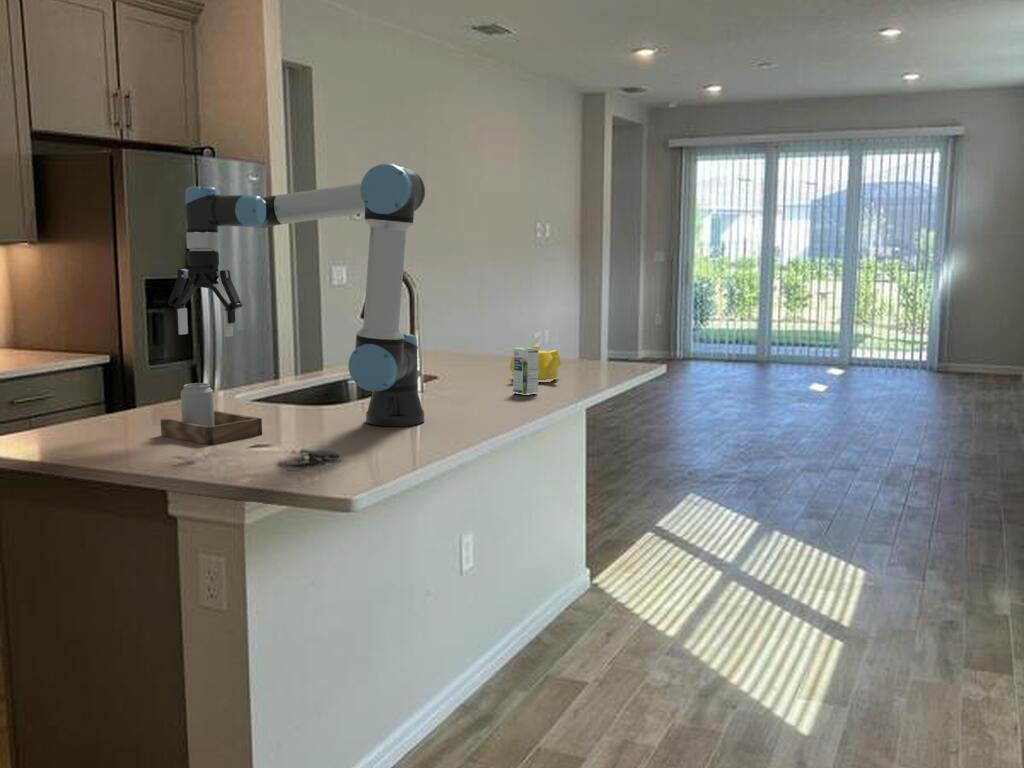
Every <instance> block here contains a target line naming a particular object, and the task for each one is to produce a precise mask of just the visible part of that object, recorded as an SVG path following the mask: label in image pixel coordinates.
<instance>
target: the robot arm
mask: <svg viewBox="0 0 1024 768" xmlns="http://www.w3.org/2000/svg"><path fill="white" fill-rule="evenodd" d="M184 194H185V196H184V198H185V200H184V201H185V202H184V207H185V223H186V235H185V236H186V249H189V250H188V251H187V254H186V258H187V260H186V261H187V265H188V269H187V268H180V269H178V270H177V278H176V281H175V283H174V287H173V288H172V290H171V291H172V292H171V293H170V296H169V299H168V302H167V304H168V306H171V307H174V309H175V320H176V322H177V326H178V327H177V328H178V329H177V330H178V335H181V336H182V335H187V334H189V326H188V323H189V322H188V307H186V304H187V303H188V301H189V300H190V299H191V297H192V296H193V294H194V293H195V291H196V290H197V289H198V288H199V289H200V288H204V289H210V290H212V292H213V293H214V294H215V295H216V297H217V298H218V300H219V301H220V302H221V303H222V305H223V307H224V308H225V309H224V310H223V312H222V313H223V335H224V338H228V337H234V324H235V323H236V310H237V309H239V308H242V306H243V303H242V301H241V299H240V297H239V294H238V292H237V290H236V287H235V285H234V284H233V281H232V279H231V271H230V269H221V270H219V265H220V252H219V251H218V250H217V249H219V227H244V228H245V227H246V228H249V227H250V228H253V227H254V228H262V229H267V228H273V227H275V226H280V225H287V224H294V223H302V222H309V221H316V220H323V219H325V220H326V219H332V218H339V217H340V218H341V217H347V216H354V215H355V216H356V215H362V214H364V221H365V222H366V224H367V225H368V226H369V240H368V241H369V242H368V252H367V253H368V255H367V256H368V257H367V271H366V284H365V294H364V295H365V299H364V311H363V312H364V313H363V324H362V325H363V326H362V327H361V328H360V329H359V330H358V331H357V332H356V335H355V349H353V351H352V353H351V354H350V356H349V359H348V373H349V375H350V377H351V379H352V381H353V382H354V383H355V384H356V385H357V386H358V387H359V388H361V389H362V390H365V391H368V392H372V393H371V396H370V401H369V404H368V409H367V411H366V412H365V421H366V422H367V423H366V424H368V423H369V425H371V424H372V426H376V425H377V427H409V426H408V425H410V426H415V424H416V425H420V424H423V423H424V422H425V412H424V410H423V408H422V404H421V399H420V397H419V392H418V350H419V348H418V347H419V346H418V339H417V336H415V335H414V334H411V333H408V334H407V333H402V332H401V331H400V318H401V303H402V293H403V292H402V290H403V281H404V280H403V278H404V264H405V253H406V251H405V249H406V240H407V239H406V236H407V231H408V229H410V228H411V227H412V226H413V225H414V218H415V212H416V211H418V209H419V208H420V207H421V206H422V204H423V203H424V200H425V197H426V196H425V195H426V187H425V183H424V181H423V178H422V177H421V176H420V175H419V174H418V173H417V171H415V170H413V169H411V168H408V167H406V166H405V167H404V166H401V165H399V164H397V163H392V162H391V163H380V164H377V165H374V166H373V167H371V168H370V169H369V170H367V172H366V173H365V174H364V176H363V178H362V179H361V182H360V183H353V184H348V185H338V186H334V187H325V188H318V189H311V190H303V191H299V192H298V191H297V192H291V193H285V194H277V195H269V196H260V195H253V194H241V195H239V194H235V195H234V194H233V195H230V194H229V195H221V194H218V191H217V189H216V187H212V186H189V187H187V188H186V189H185V193H184ZM188 278H189V280H188ZM219 279H220V281H219ZM187 281H188V282H187ZM222 286H223V287H222ZM422 422H423V423H422ZM419 423H420V424H419Z"/></svg>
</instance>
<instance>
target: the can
mask: <svg viewBox="0 0 1024 768" xmlns="http://www.w3.org/2000/svg"><path fill="white" fill-rule="evenodd" d="M214 400H215V399H214V390H213V389H212V388H211V384H210V383H205V382H201V383H200V382H195V383H187V384H183V389H182V390H181V391H180V403H181V404H180V405H181V421H182V422H187V423H192V424H198V425H203V426H209V427H210V426H215V424H214V411H215V404H214Z"/></svg>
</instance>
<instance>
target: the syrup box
mask: <svg viewBox="0 0 1024 768" xmlns="http://www.w3.org/2000/svg"><path fill="white" fill-rule="evenodd" d="M513 351H514V363H513V375H512V379H513V380H512V381H513V382H512V393H513V392H518V393H523V394H527V393H533V392H538V390H539V383H538V349H535V348H531V347H527V346H524V347H523V346H519V347H518V346H517V347H514V348H513ZM538 393H539V392H538Z"/></svg>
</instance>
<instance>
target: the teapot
mask: <svg viewBox="0 0 1024 768" xmlns="http://www.w3.org/2000/svg"><path fill="white" fill-rule="evenodd" d="M530 348H535V349H538V380H546V379H553V378H556V377H557V378H558V376H559V373H558V369H559V367H560V366H561V364H562V363H561V359H560V357H561V356H560V355H559V353H558V350H557V349H552V350H540V346H539V345H531V346H530ZM513 363H514V350H512V355H511V359H510V363H509V370H510V371H511V372H512V373H511V374H512V376H513ZM557 378H556V379H557Z"/></svg>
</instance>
